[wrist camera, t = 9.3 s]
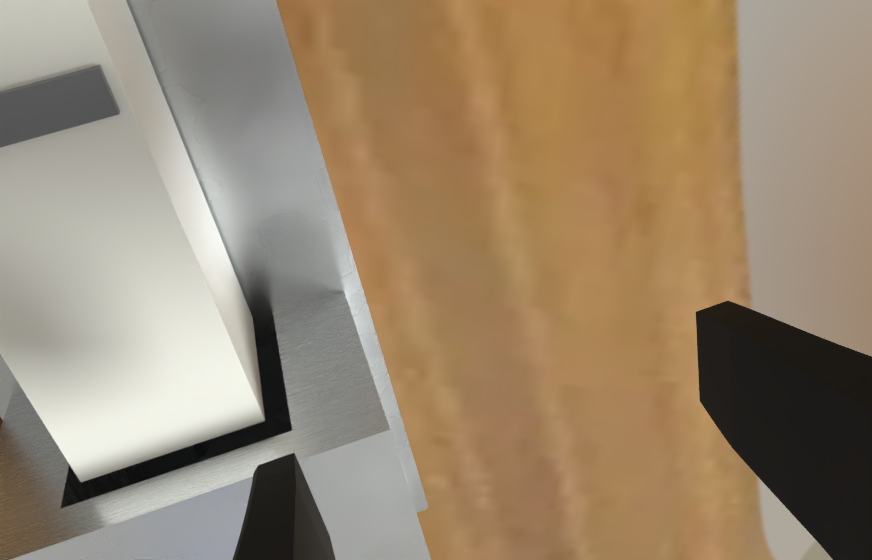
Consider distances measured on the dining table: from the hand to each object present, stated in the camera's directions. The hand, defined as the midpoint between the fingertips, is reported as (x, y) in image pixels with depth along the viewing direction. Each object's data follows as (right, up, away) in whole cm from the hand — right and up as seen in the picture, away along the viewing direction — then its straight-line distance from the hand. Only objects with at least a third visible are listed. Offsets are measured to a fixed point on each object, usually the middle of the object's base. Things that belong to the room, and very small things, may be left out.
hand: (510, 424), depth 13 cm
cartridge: (-9, +7, +4) cm, 12 cm away
